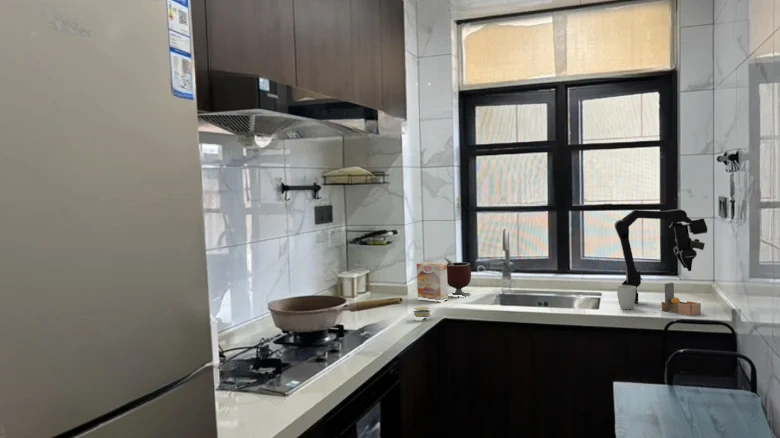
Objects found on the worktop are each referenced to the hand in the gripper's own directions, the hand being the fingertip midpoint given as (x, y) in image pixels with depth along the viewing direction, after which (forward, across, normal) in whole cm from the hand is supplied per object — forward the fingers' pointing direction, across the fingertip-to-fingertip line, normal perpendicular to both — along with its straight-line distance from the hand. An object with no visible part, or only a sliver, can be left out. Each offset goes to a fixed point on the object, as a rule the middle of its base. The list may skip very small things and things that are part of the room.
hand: (687, 269), depth 267 cm
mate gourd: (+2, +15, +111) cm, 112 cm away
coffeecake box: (+1, +1, +122) cm, 122 cm away
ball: (+10, -17, +10) cm, 22 cm away
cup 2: (+15, -22, +6) cm, 27 cm away
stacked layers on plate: (+2, -42, +118) cm, 125 cm away
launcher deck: (+14, -17, +11) cm, 25 cm away
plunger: (+11, -15, +12) cm, 22 cm away
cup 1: (+12, -14, +30) cm, 35 cm away
